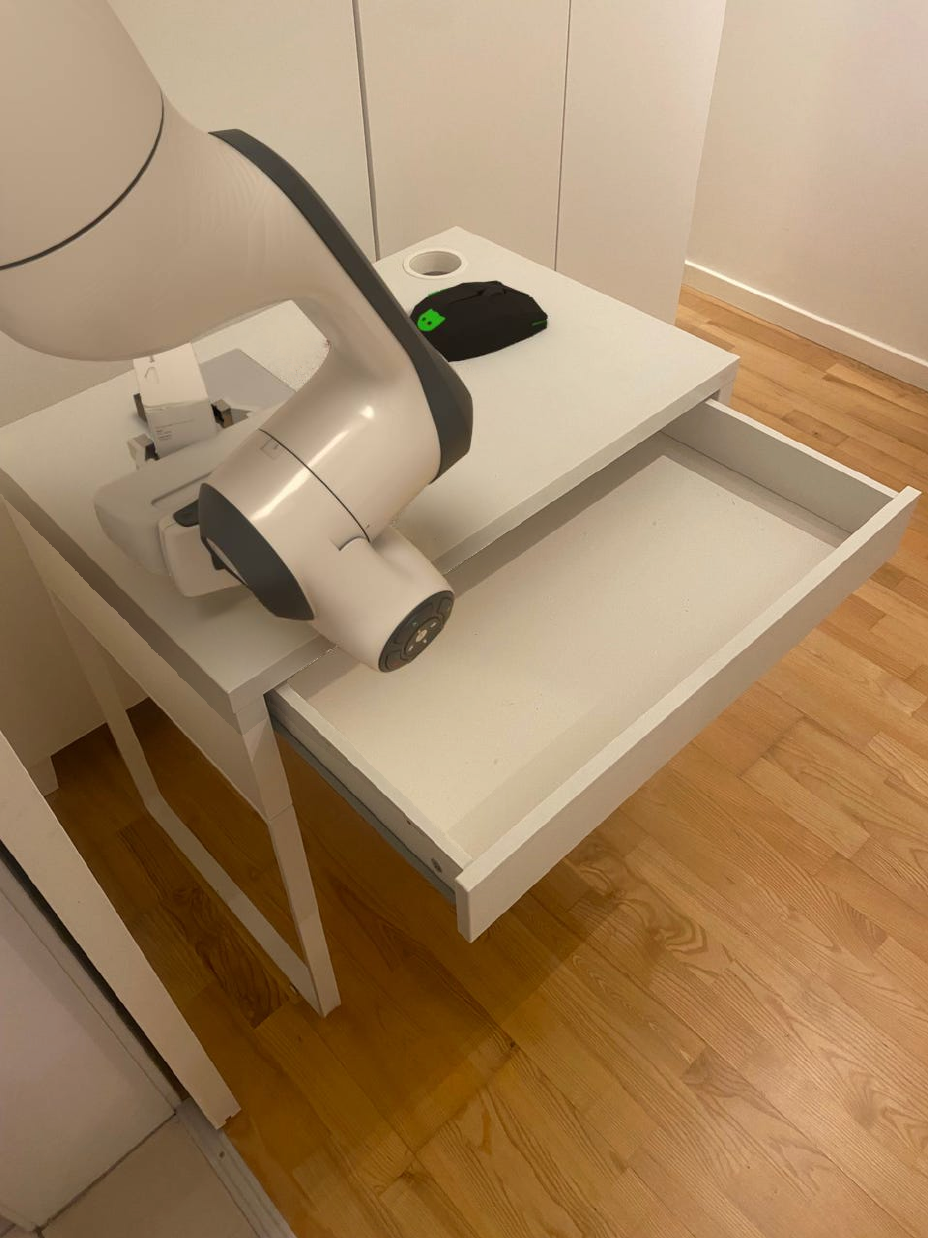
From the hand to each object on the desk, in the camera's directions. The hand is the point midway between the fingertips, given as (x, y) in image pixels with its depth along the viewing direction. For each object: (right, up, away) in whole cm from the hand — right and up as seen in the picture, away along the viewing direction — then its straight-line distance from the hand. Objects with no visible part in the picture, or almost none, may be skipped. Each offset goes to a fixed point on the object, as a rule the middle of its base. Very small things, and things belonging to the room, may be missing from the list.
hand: (177, 425), depth 76 cm
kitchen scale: (0, +4, +16) cm, 17 cm away
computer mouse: (+23, +16, +28) cm, 40 cm away
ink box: (+1, -5, +5) cm, 7 cm away
